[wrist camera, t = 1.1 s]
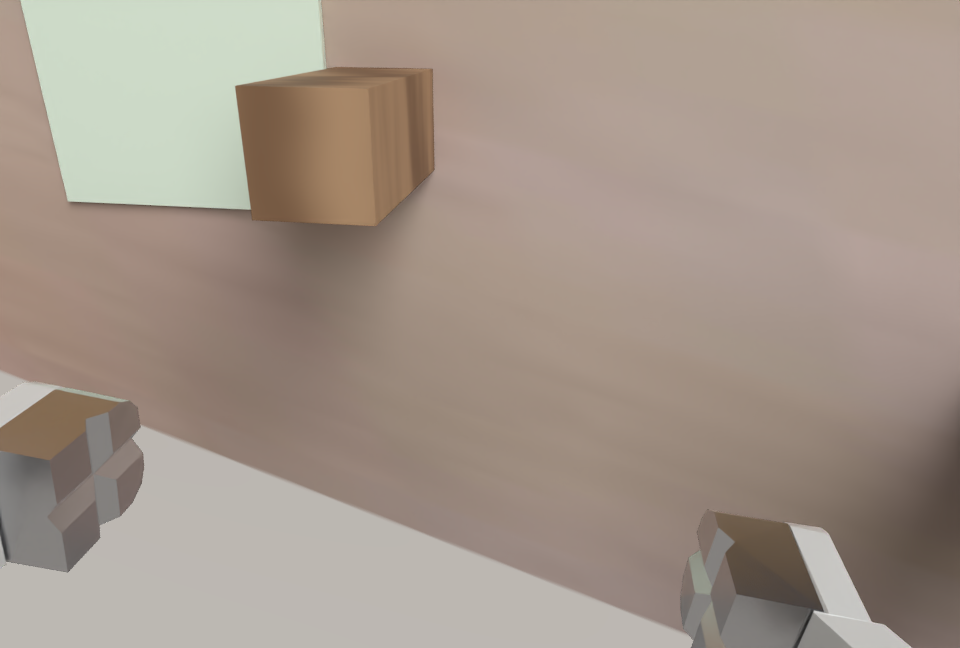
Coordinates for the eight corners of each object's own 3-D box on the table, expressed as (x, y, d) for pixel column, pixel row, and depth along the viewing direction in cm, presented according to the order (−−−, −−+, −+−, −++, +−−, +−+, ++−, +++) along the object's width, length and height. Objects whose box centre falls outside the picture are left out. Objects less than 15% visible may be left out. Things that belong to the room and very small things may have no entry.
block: (432, 68, 34) (368, 88, 24) (434, 169, 36) (375, 226, 26) (335, 67, 35) (234, 85, 25) (343, 166, 37) (252, 220, 27)
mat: (306, -184, 31) (303, -186, 30) (337, 211, 38) (335, 213, 38) (-15, -174, 33) (-22, -176, 33) (72, 199, 40) (68, 201, 40)
